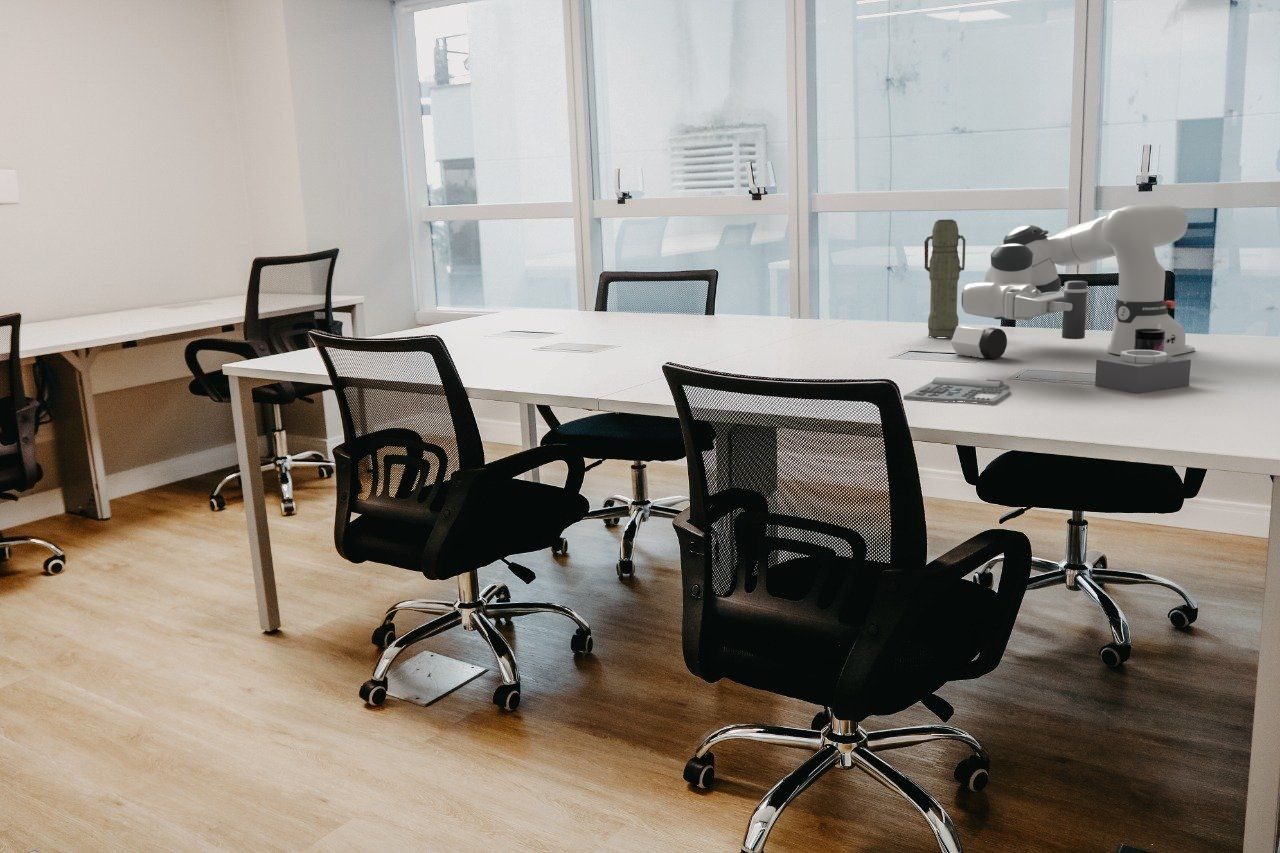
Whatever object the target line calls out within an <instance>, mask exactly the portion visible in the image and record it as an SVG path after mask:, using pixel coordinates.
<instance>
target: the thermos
mask: <svg viewBox="0 0 1280 853" xmlns="http://www.w3.org/2000/svg"><path fill="white" fill-rule="evenodd" d="M931 232H932V233H931V235H930V236H927V237H926V239H925V240H924V269H925V270H926V271H927V272H928V276H929V277H928V278H929V282H930V306H929V309H930V311H929V315H928V318H927V322H928V323H927V328H928V336H931V337H953V335H954V332H955V330H956V327H957V326H959V315H958V286H959V285H958V282H959V280H960V272H962V271H965V265H966V262H965V261H966V239H965V237H964V236H963V235H960V234H959V227H958V223H957V221H956V220H955V219H938V220H936V221H935V222H934V225H933V228H932V231H931ZM960 239H961V240H962V256H961V257H962V258H961V260H962V261H960V257H959V250H958V246H959V240H960ZM930 240H931V246H932V251H931V257H930V259H929V241H930ZM960 262H961V263H960ZM931 337H930V338H931Z"/></svg>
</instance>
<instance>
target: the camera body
mask: <svg viewBox="0 0 1280 853" xmlns="http://www.w3.org/2000/svg"><path fill="white" fill-rule="evenodd" d="M1191 362H1192V360H1191V358H1190V359H1189V358H1184V357H1176V356H1167V354H1166V352H1162V351H1155V350H1127V351H1121V355H1119V356H1113V357H1106V358H1105V357H1104V358H1099V359H1098V358H1097V359H1096V364H1095V365H1096V366H1095V379H1094V380H1095V381H1094V386H1097V385H1098V386H1097V387H1102V386H1103V387H1102V388H1107V389H1113V390H1116V391H1117V390H1118V391H1123V392H1127V393H1128V392H1129V393H1133V394H1142V393H1150V392H1156V391H1162V390H1169V389H1175V388H1181V387H1188V386H1190V377H1191V376H1190V375H1191Z"/></svg>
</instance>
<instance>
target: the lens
mask: <svg viewBox="0 0 1280 853" xmlns="http://www.w3.org/2000/svg"><path fill="white" fill-rule="evenodd" d="M1063 286H1064V287H1063V292H1064V303H1066V302H1069V303H1074V309H1073V310H1071V311H1062V324H1061V325H1062V328H1061V338H1062V339H1065V340H1083V339H1085V337H1086V336H1085V335H1086V322H1087V321H1086V320H1087V318H1086V317H1087V305H1086V302H1087V300H1088V297H1087V296H1088V289H1089V288H1088V281H1085V280H1067V281H1064V285H1063ZM1087 303H1088V302H1087Z"/></svg>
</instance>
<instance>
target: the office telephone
mask: <svg viewBox="0 0 1280 853" xmlns="http://www.w3.org/2000/svg"><path fill="white" fill-rule="evenodd" d="M1009 386H1010V384H1007V383H1004V381H1003V380H1001V379H999V380H998V379H976V378H975V379H972V378H957V377H944V376H943V377H942V376H940V377H939V376H936V377H934V378H933V380H932V381H930V382H928V383H926V384H924V385H922V386H920V387H919V388H916V389H915V390H912V391H910V392H909V393H906V394H904V395H903V400H907V399H909V401H911V400H910V399H915V400H914V401H920V400H931V401H930V402H934V401H948V402H947V403H949V402H953V401H963V402H964V401H965V402H977V403H988V404H995V403H997V402H998V403H1000V402H1001V401H1003V400H1004V399H1005V398H1007V397H1008V396H1010V395H1011V393H1012V390H1010V389H1008V388H1009ZM1006 388H1007V389H1006ZM1005 389H1006V390H1005ZM977 392H988V393H998V394H996V395H995V396H994V397H993V398H989V397H987V398H986V397H982V398H981V397H974V396H975V395H976V394H975V393H977ZM988 393H987V394H988ZM974 394H975V395H974ZM977 394H978V393H977ZM972 395H974V396H972ZM1007 395H1008V396H1007ZM971 396H972V397H971ZM1006 396H1007V397H1006ZM970 397H971V398H970ZM1004 397H1005V398H1004ZM1003 398H1004V399H1003ZM1002 399H1003V400H1002ZM932 400H933V401H932ZM1000 400H1001V401H1000ZM999 401H1000V402H999ZM953 403H954V402H953ZM998 403H997V404H998ZM988 404H987V405H988ZM995 405H996V404H995Z"/></svg>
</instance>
